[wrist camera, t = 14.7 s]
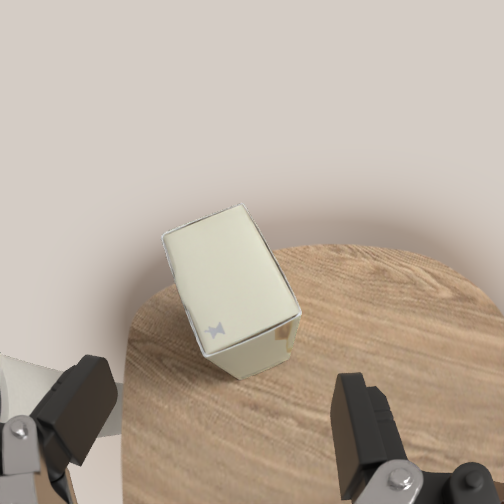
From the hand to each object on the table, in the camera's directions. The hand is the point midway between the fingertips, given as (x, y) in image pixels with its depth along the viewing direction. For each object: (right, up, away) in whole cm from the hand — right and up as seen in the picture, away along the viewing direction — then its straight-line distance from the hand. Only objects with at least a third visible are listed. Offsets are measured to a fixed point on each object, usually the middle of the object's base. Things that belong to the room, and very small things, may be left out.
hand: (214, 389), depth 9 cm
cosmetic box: (+1, -2, +14) cm, 14 cm away
